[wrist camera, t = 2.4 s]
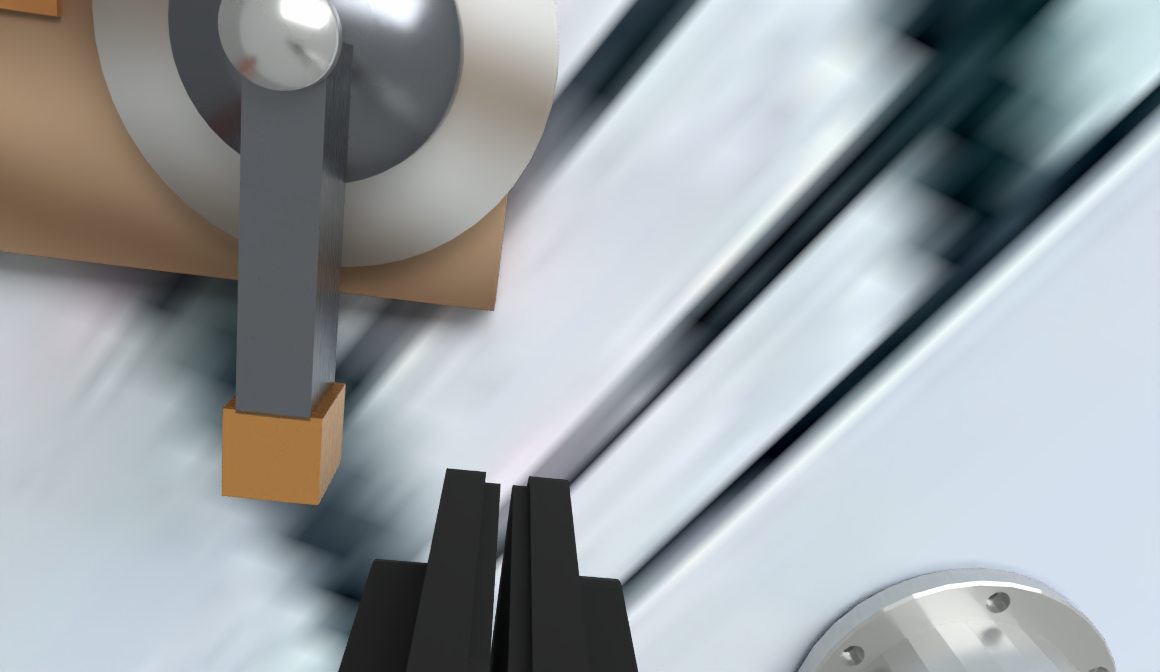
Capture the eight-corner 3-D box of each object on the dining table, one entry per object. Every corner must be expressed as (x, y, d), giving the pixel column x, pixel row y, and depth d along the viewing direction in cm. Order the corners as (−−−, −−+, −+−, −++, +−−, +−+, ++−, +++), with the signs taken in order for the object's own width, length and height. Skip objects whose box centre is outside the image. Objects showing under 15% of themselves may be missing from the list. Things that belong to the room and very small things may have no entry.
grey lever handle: (188, -132, 19) (95, -192, 15) (477, -84, 20) (462, -129, 16) (188, 427, 24) (115, 498, 19) (427, 452, 24) (404, 525, 20)
